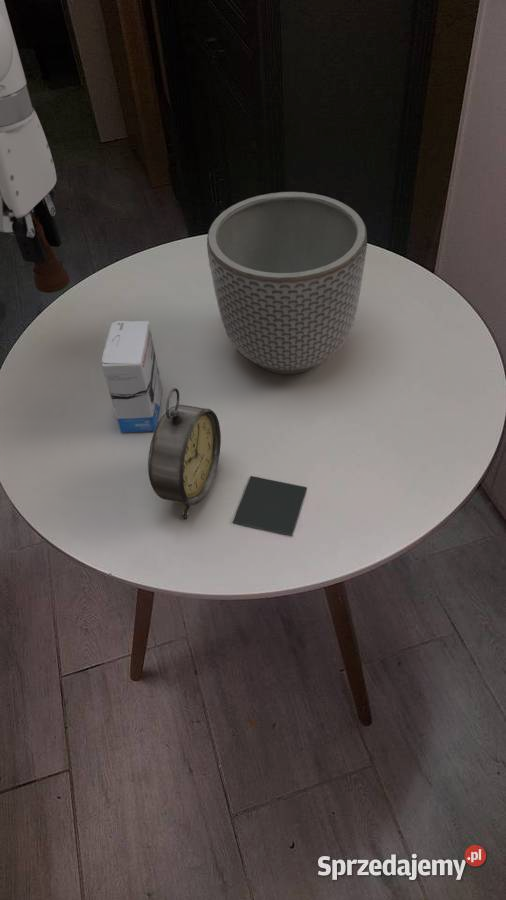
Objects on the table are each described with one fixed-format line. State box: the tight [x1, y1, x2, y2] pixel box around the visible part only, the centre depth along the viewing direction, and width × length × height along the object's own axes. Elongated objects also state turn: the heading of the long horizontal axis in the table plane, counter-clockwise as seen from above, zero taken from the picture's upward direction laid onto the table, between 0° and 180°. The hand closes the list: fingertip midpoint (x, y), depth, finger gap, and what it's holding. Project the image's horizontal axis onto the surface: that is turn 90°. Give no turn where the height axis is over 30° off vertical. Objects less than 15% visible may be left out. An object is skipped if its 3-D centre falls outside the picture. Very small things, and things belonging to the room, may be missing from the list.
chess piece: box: [30, 212, 71, 294], centre depth 88 cm, size 5×5×10 cm
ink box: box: [101, 320, 163, 434], centre depth 87 cm, size 8×5×12 cm, turn 179°
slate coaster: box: [232, 475, 308, 537], centre depth 80 cm, size 7×7×1 cm
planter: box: [206, 191, 368, 375], centre depth 90 cm, size 20×20×19 cm
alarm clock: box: [147, 387, 222, 520], centre depth 76 cm, size 11×5×16 cm, turn 161°
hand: (42, 251), depth 89 cm, fingers closed on chess piece, 3 cm apart
